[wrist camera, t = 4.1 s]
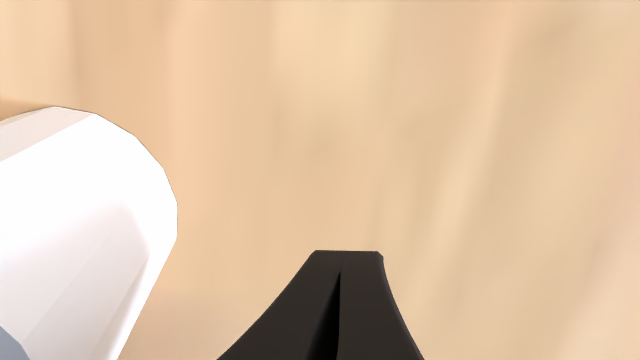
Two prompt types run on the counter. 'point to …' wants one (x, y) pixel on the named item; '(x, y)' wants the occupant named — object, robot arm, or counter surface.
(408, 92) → the counter surface
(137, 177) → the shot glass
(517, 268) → the counter surface
